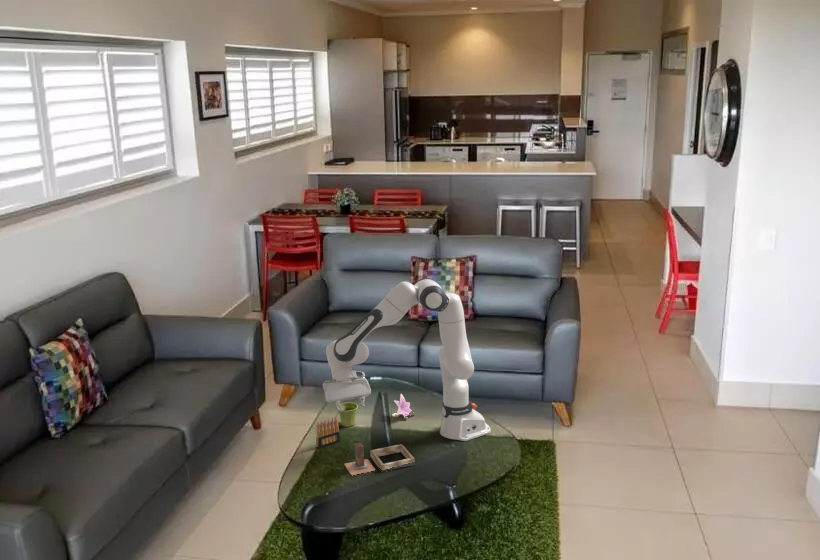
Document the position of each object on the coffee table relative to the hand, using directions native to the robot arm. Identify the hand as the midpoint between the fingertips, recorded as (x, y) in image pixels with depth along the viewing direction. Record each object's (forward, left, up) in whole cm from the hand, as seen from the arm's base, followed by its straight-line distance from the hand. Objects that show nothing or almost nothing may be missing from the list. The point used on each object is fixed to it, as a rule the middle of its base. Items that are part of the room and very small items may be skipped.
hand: (352, 409), depth 307 cm
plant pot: (-6, -28, -20) cm, 35 cm away
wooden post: (+2, +13, -20) cm, 23 cm away
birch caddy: (-12, +13, -20) cm, 27 cm away
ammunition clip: (+8, -12, -20) cm, 25 cm away
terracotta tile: (+2, +13, -20) cm, 24 cm away
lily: (-32, -25, -20) cm, 45 cm away
